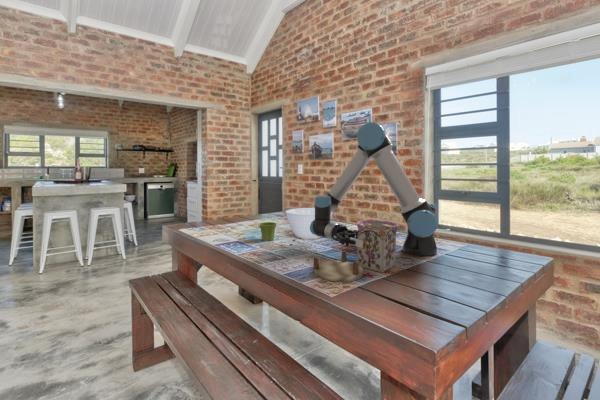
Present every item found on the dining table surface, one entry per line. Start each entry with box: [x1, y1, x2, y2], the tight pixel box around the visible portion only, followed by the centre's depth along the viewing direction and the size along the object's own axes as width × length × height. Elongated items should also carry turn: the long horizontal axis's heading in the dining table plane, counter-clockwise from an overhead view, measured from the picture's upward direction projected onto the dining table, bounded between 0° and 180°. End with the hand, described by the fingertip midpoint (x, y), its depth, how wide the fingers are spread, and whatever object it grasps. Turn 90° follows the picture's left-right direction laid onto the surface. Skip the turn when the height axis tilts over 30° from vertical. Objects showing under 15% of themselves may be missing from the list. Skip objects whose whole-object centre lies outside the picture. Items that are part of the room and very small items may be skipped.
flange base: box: [312, 250, 364, 283], centre depth 120 cm, size 18×18×6 cm
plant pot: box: [258, 221, 278, 242], centre depth 171 cm, size 9×9×9 cm
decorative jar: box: [356, 221, 397, 273], centre depth 128 cm, size 12×12×18 cm
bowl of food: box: [356, 219, 399, 234], centre depth 159 cm, size 20×20×12 cm
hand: (374, 241), depth 128 cm, fingers open, 13 cm apart
